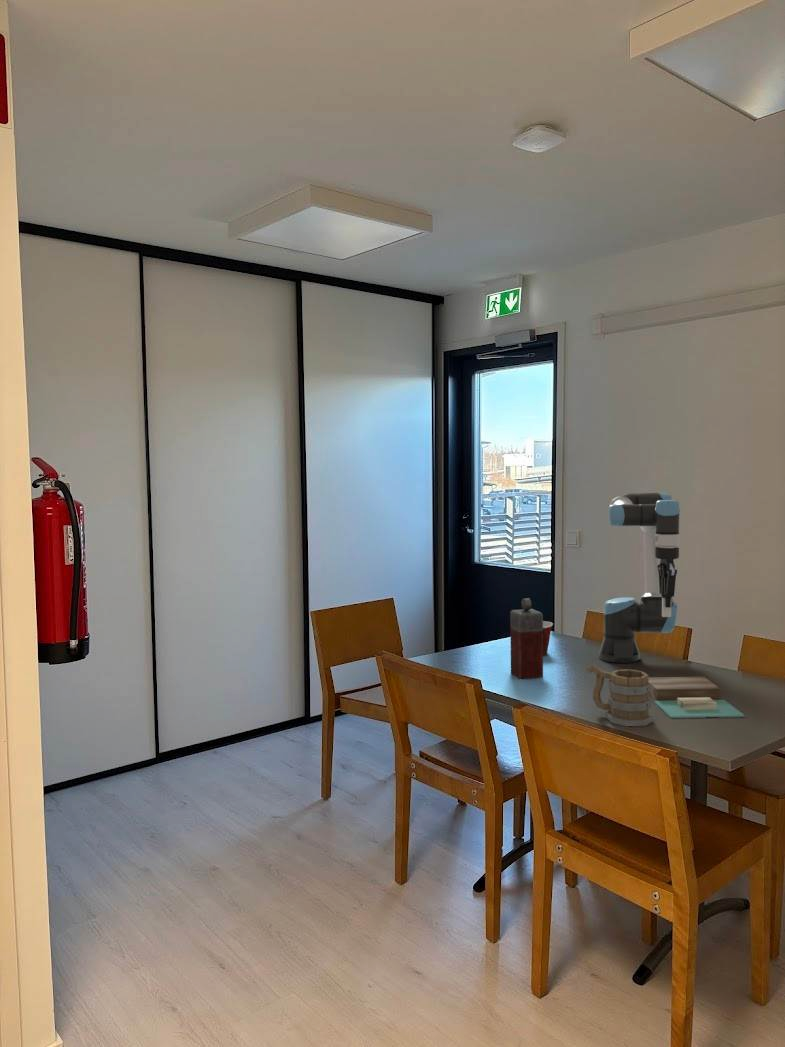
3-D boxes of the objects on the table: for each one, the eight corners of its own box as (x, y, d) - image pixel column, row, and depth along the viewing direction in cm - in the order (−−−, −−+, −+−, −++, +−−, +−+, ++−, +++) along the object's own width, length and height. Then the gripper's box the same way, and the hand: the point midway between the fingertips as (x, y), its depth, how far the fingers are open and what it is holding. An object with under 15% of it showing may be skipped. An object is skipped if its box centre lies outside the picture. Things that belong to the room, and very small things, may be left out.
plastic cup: (520, 651, 331) (520, 621, 330) (544, 648, 335) (544, 619, 334) (533, 657, 321) (533, 627, 320) (558, 654, 324) (557, 624, 323)
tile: (683, 703, 250) (683, 709, 250) (716, 703, 250) (716, 709, 250) (677, 697, 256) (677, 704, 256) (709, 697, 256) (709, 703, 256)
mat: (654, 702, 260) (654, 700, 260) (723, 701, 260) (723, 699, 260) (670, 718, 244) (670, 716, 244) (744, 717, 244) (744, 715, 244)
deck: (643, 689, 275) (643, 677, 274) (703, 688, 274) (703, 676, 274) (656, 701, 261) (656, 689, 260) (719, 700, 260) (719, 688, 260)
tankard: (658, 718, 244) (658, 669, 243) (639, 729, 235) (640, 678, 234) (597, 706, 257) (597, 659, 256) (577, 716, 248) (577, 667, 247)
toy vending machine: (549, 677, 292) (549, 599, 290) (519, 679, 289) (519, 601, 287) (539, 670, 301) (538, 595, 298) (510, 673, 298) (509, 597, 296)
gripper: (649, 544, 279) (649, 612, 281) (662, 548, 266) (661, 620, 268) (671, 544, 279) (671, 612, 281) (685, 548, 266) (684, 620, 268)
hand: (666, 616), depth 275 cm, fingers closed
